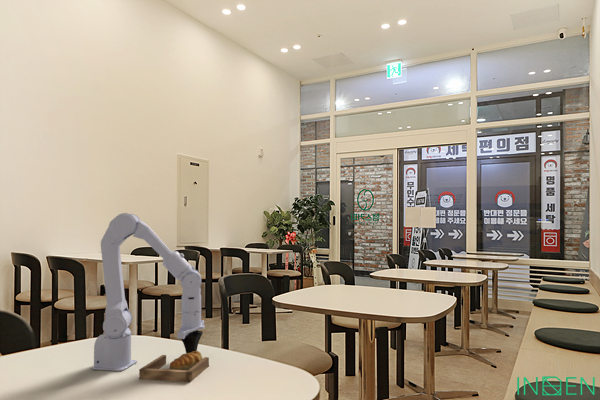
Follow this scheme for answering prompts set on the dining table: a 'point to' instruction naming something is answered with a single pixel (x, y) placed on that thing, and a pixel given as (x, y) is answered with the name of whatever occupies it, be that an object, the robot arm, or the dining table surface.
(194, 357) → the pastry
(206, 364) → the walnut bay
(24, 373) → the dining table surface
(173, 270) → the robot arm
